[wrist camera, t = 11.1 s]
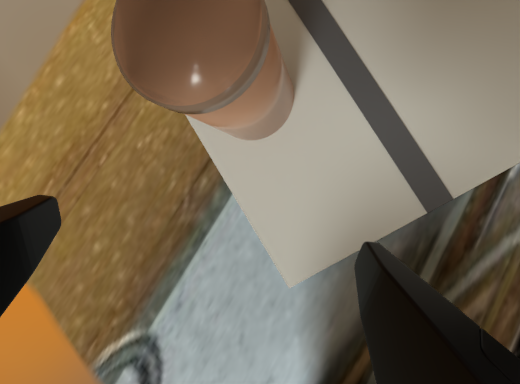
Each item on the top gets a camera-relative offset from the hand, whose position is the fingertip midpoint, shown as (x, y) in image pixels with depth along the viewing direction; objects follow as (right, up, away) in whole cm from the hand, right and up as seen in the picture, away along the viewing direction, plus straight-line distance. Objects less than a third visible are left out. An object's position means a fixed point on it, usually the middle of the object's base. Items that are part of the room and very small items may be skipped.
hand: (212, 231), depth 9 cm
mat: (+7, +8, +10) cm, 15 cm away
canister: (+1, +7, +12) cm, 14 cm away
